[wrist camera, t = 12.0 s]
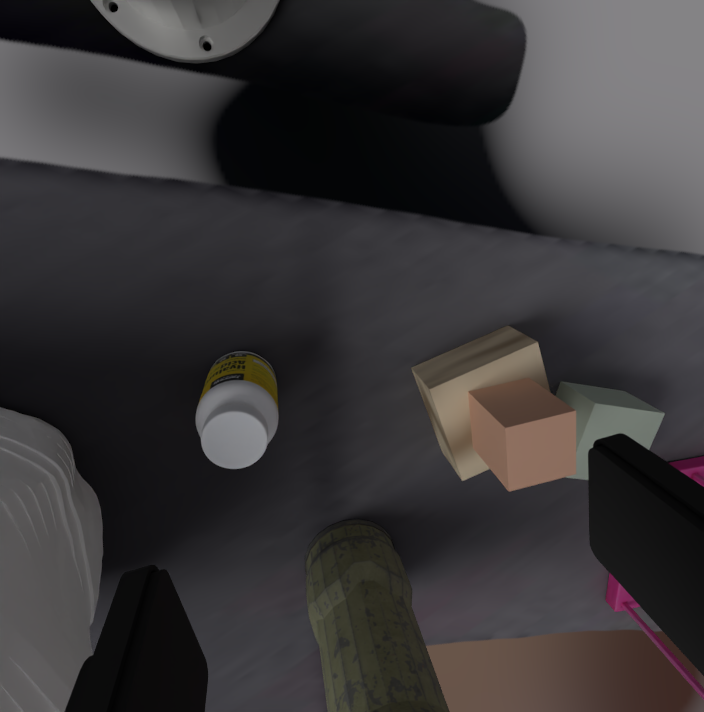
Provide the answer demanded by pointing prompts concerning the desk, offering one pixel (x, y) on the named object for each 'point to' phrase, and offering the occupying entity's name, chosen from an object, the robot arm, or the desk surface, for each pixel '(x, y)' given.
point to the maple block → (473, 388)
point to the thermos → (367, 623)
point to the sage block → (607, 418)
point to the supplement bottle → (238, 410)
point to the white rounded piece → (44, 565)
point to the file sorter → (620, 600)
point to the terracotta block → (523, 433)
